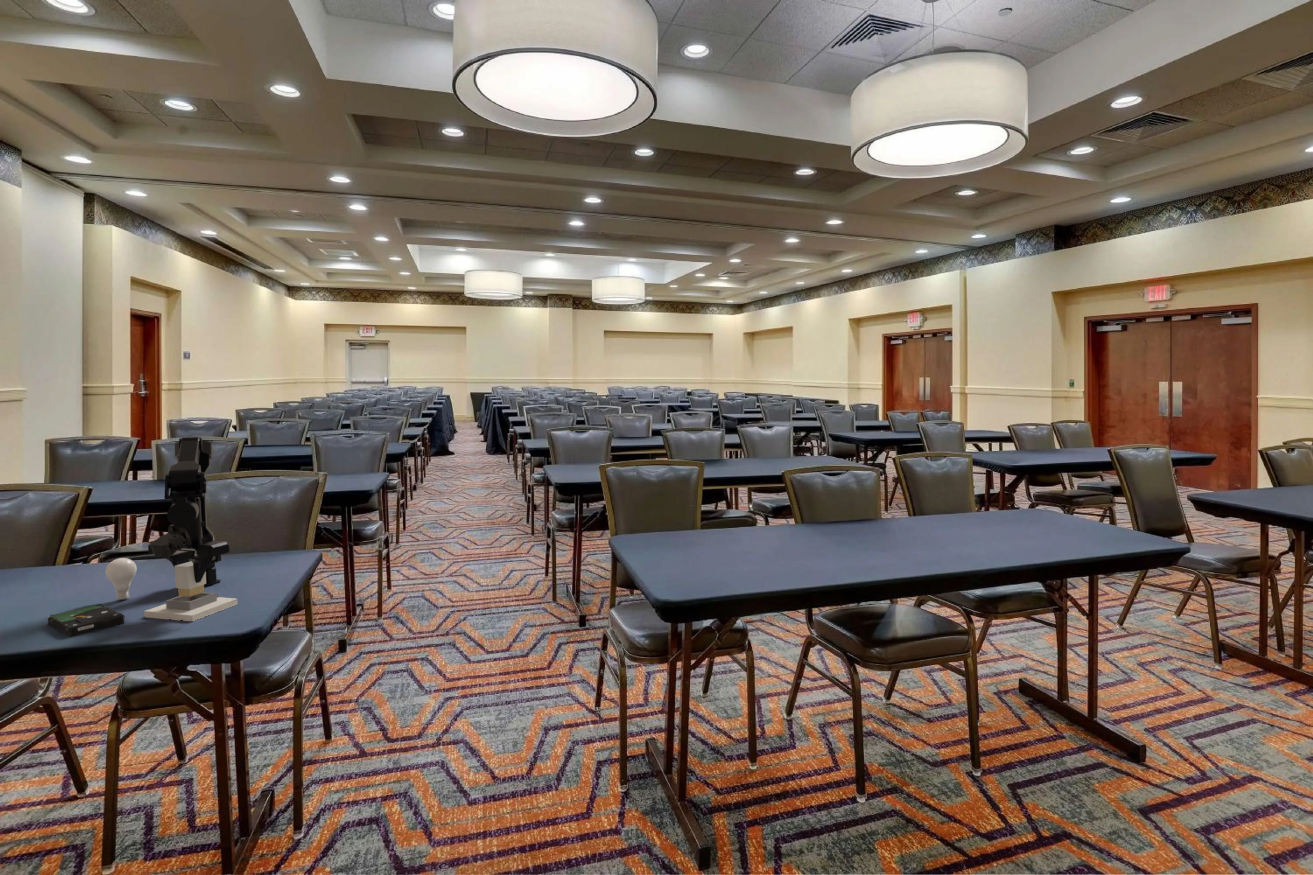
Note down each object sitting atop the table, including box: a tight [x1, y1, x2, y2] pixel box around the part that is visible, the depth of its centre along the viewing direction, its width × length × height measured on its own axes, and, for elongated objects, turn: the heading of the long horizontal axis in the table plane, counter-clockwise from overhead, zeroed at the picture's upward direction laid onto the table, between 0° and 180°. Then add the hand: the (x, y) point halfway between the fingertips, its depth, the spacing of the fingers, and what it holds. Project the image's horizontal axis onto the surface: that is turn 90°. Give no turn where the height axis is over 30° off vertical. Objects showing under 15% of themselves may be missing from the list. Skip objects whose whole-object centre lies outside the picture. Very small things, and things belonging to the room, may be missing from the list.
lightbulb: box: [105, 557, 138, 601], centre depth 177 cm, size 6×6×11 cm
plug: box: [173, 561, 206, 597], centre depth 169 cm, size 4×5×8 cm
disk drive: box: [47, 603, 125, 638], centre depth 160 cm, size 10×3×15 cm
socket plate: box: [143, 591, 238, 622], centre depth 169 cm, size 14×13×4 cm
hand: (190, 581), depth 169 cm, fingers closed on plug, 4 cm apart
